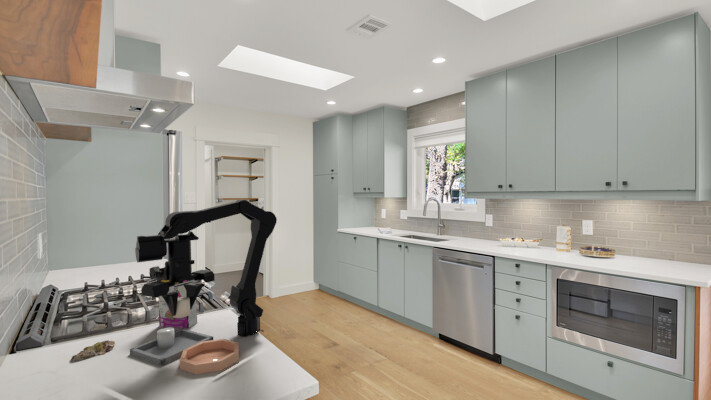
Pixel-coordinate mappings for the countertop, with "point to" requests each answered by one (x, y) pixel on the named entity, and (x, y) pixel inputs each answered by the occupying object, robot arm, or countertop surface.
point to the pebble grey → (165, 338)
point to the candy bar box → (166, 316)
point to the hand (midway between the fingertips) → (181, 312)
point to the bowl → (210, 356)
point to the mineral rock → (94, 350)
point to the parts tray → (167, 355)
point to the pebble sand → (183, 307)
